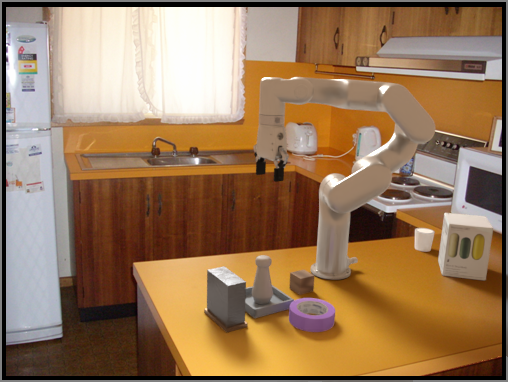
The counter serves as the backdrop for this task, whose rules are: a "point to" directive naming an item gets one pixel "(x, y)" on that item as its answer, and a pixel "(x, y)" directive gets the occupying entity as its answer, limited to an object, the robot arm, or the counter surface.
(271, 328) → the counter surface
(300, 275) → the walnut cube
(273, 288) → the tray
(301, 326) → the masking tape
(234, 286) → the unit
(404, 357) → the counter surface
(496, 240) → the counter surface
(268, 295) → the salt shaker
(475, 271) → the supplement box
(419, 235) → the shot glass
